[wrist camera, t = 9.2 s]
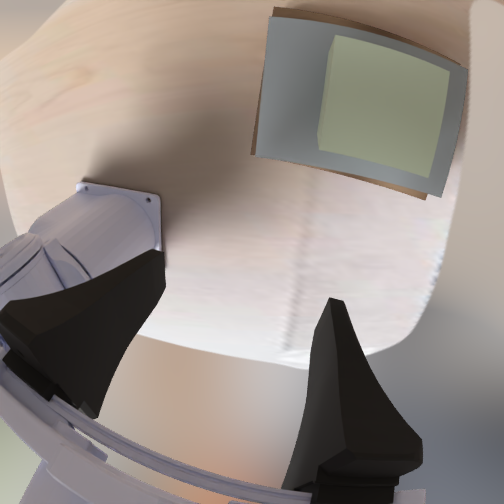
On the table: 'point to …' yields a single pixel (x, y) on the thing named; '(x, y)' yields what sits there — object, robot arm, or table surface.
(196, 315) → the table surface
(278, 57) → the slate slab
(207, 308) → the table surface
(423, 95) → the sage cube
